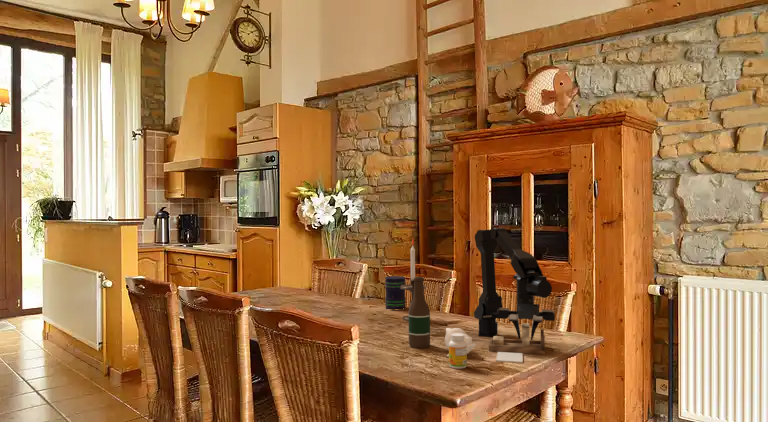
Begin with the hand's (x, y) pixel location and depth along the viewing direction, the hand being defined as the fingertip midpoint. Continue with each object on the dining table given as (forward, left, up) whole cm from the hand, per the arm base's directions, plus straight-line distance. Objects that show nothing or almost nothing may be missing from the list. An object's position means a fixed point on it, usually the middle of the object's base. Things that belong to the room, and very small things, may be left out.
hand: (525, 339), depth 186 cm
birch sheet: (0, 0, -2) cm, 2 cm away
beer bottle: (-36, -3, -4) cm, 36 cm away
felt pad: (-5, -12, -3) cm, 13 cm away
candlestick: (-47, +41, -4) cm, 62 cm away
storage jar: (-60, +64, -4) cm, 88 cm away
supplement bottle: (-20, -25, -4) cm, 32 cm away
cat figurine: (-22, -10, -4) cm, 25 cm away
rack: (-3, 0, -3) cm, 4 cm away
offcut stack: (-9, 0, -2) cm, 9 cm away
